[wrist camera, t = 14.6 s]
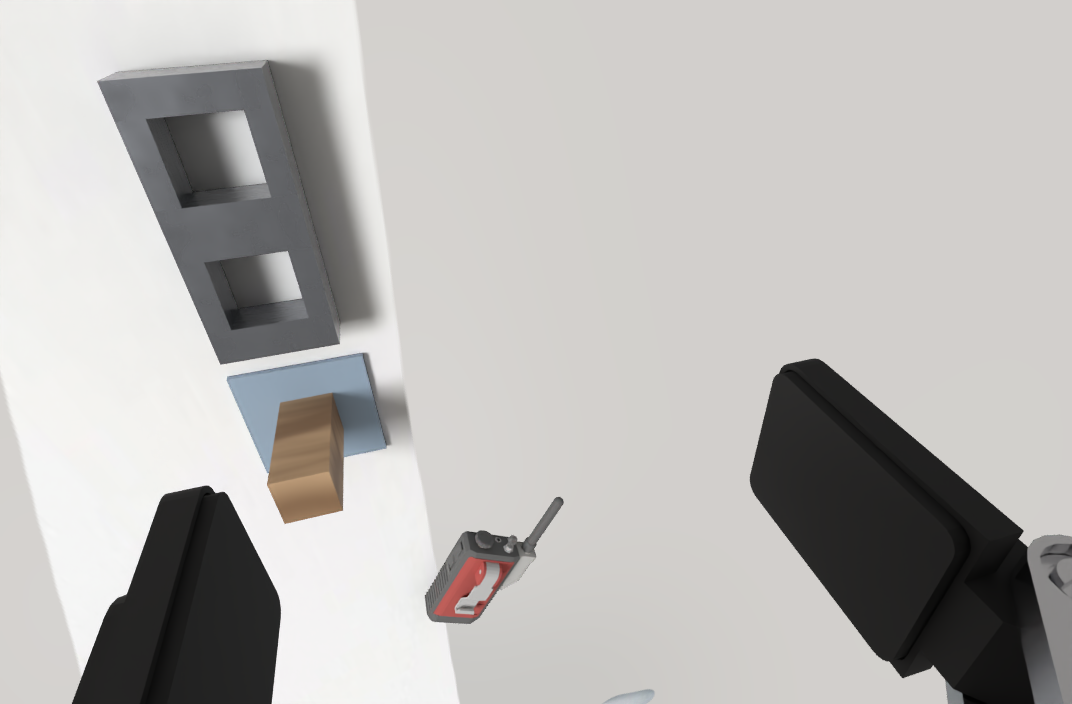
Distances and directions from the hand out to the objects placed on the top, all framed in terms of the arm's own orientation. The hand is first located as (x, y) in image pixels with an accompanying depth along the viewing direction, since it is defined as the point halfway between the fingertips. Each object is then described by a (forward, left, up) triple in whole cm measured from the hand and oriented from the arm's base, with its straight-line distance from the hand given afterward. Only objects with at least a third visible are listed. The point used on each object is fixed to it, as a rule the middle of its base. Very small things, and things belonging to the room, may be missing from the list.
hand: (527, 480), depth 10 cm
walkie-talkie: (+46, +2, -34) cm, 57 cm away
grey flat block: (+6, -11, -33) cm, 36 cm away
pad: (+23, -11, -33) cm, 42 cm away
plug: (+23, -11, -33) cm, 42 cm away
